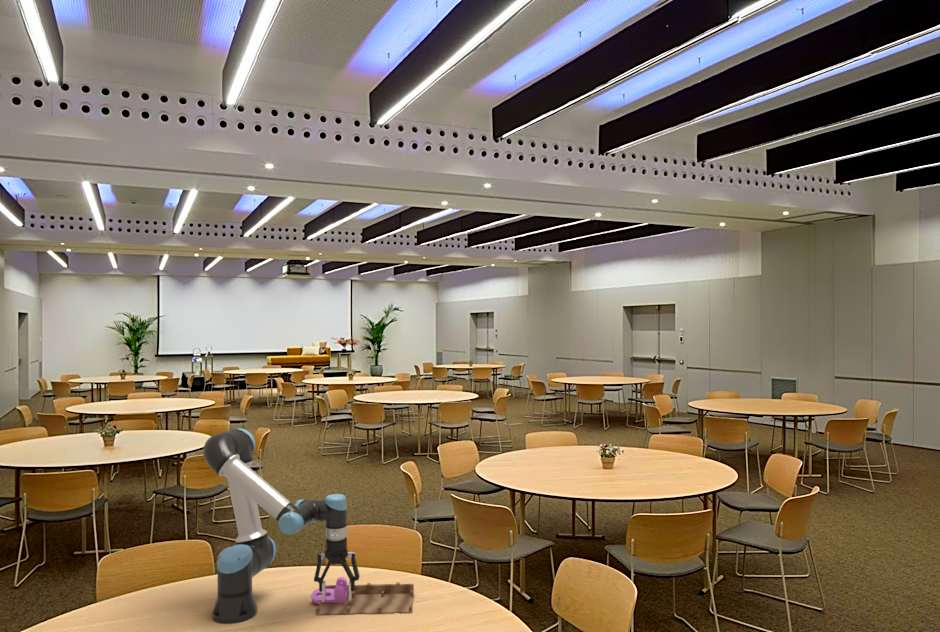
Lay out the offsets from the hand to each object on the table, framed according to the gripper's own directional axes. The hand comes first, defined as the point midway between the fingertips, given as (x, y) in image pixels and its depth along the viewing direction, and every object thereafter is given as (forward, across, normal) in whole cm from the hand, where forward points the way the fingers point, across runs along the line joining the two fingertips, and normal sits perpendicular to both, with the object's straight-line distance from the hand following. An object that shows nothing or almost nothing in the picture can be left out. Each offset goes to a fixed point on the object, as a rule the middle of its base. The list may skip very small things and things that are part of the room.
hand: (337, 599), depth 240 cm
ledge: (+3, +10, +1) cm, 11 cm away
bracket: (+1, -4, +4) cm, 6 cm away
